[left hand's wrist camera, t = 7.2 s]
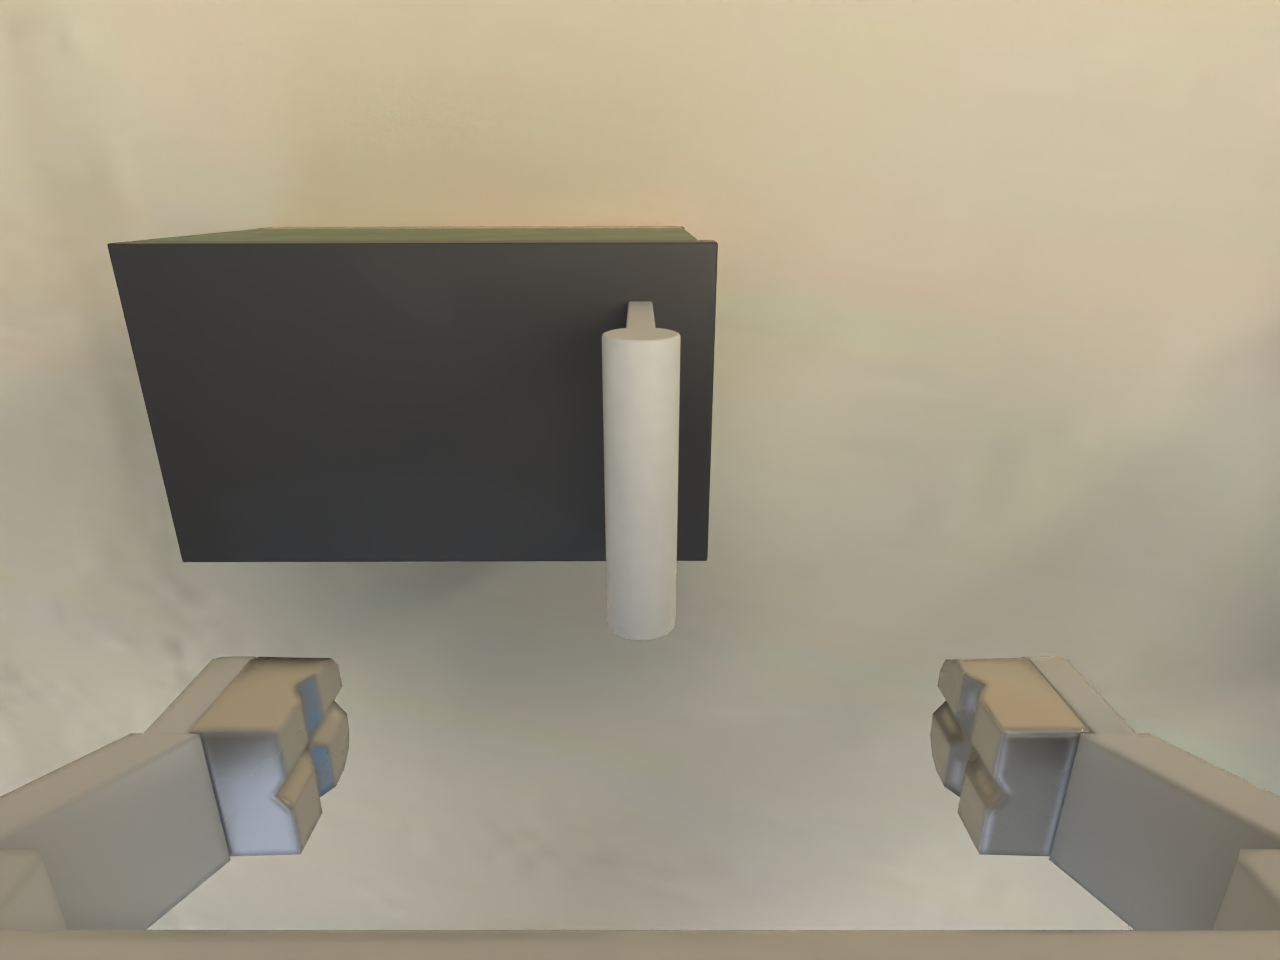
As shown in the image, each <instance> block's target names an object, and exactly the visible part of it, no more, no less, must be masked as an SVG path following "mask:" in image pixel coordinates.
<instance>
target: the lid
mask: <svg viewBox="0 0 1280 960" xmlns="http://www.w3.org/2000/svg"><path fill="white" fill-rule="evenodd" d="M108 249H109V254H110V258H111V262H112V266H113V270H114V275H115V279H116V283H117V287H118V291H119V296H120V300H121V304H122V308H123V312H124V317H125V321H126V325H127V329H128V333H129V338H130V342H131V346H132V350H133V354H134V359H135V363H136V367H137V371H138V375H139V380H140V384H141V388H142V392H143V396H144V401H145V405H146V409H147V413H148V418H149V422H150V426H151V430H152V434H153V439H154V443H155V447H156V451H157V455H158V460H159V464H160V468H161V472H162V476H163V481H164V485H165V489H166V493H167V497H168V502H169V506H170V510H171V514H172V518H173V523H174V527H175V531H176V535H177V539H178V544H179V548H180V552H181V556H182V560H183V562H397V561H606V583H607V624H608V626H609V628H610V630H611V631H612V632H613V633H614V634H616V635H618V636H620V637H622V638H625V639H629V640H636V641H647V640H654V639H658V638H661V637H663V636H665V635H667V634H668V633H670V632H671V631H672V630H673V628H674V626H675V623H676V572H677V561H706V560H707V553H708V523H709V493H710V462H711V432H712V401H713V371H714V340H715V310H716V279H717V249H718V244H717V242H715V241H713V240H680V241H162V242H118V243H109V244H108Z"/></svg>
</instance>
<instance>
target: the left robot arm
mask: <svg viewBox="0 0 1280 960" xmlns="http://www.w3.org/2000/svg"><path fill="white" fill-rule="evenodd" d="M341 687H342V682H341V677H340V672H339V667H338V664H337V663H336V662H335V661H334V660H333V659H331V658H290V657H258V658H256V657H220V658H216V659H213V660H211V661H210V663H209V664H208V665H207V666H206V667H205V668H204V669H203V670H202V671H201V672H200V673H199V674H198V675H197V677H196V678H195V679H194V680H193V681H192V682H191V683H190V684H189V685H188V686H187V687H186V688H185V689H184V691H183V692H182V693H181V694H180V695H179V696H178V697H177V698H176V699H175V700H174V701H173V702H172V703H171V705H170V706H169V707H168V708H167V709H166V710H165V711H164V712H163V713H162V714H161V715H160V716H159V717H158V719H157V720H156V721H155V722H154V723H153V724H152V725H151V726H150V727H149V728H148V729H147V730H146V731H145V733H144V734H129V735H127V736H125V737H123V738H121V739H119V740H117V741H115V742H113V743H111V744H109V745H107V746H104V747H102V748H100V749H98V750H96V751H94V752H92V753H90V754H88V755H86V756H84V757H82V758H80V759H78V760H76V761H73V762H71V763H69V764H67V765H65V766H63V767H61V768H59V769H57V770H55V771H53V772H51V773H49V774H47V775H45V776H43V777H40V778H38V779H36V780H34V781H32V782H30V783H28V784H26V785H24V786H22V787H20V788H18V789H16V790H14V791H12V792H9V793H7V794H5V795H3V796H1V797H0V960H1280V797H1278V796H1276V795H1274V794H1272V793H1270V792H1268V791H1266V790H1264V789H1262V788H1260V787H1258V786H1256V785H1254V784H1252V783H1250V782H1248V781H1245V780H1243V779H1241V778H1239V777H1237V776H1235V775H1233V774H1231V773H1229V772H1227V771H1225V770H1223V769H1221V768H1219V767H1217V766H1215V765H1213V764H1210V763H1208V762H1206V761H1204V760H1202V759H1200V758H1198V757H1196V756H1194V755H1192V754H1190V753H1188V752H1186V751H1184V750H1182V749H1180V748H1178V747H1175V746H1173V745H1171V744H1169V743H1167V742H1165V741H1163V740H1161V739H1159V738H1157V737H1155V736H1153V735H1151V734H1136V733H1135V731H1134V730H1133V729H1132V728H1131V727H1130V726H1129V725H1128V724H1127V723H1126V722H1125V721H1124V720H1123V719H1122V717H1121V716H1120V715H1119V714H1118V713H1117V712H1116V711H1115V710H1114V709H1113V708H1112V707H1111V706H1110V705H1109V703H1108V702H1107V701H1106V700H1105V699H1104V698H1103V697H1102V696H1101V695H1100V694H1099V693H1098V692H1097V690H1096V689H1095V688H1094V687H1093V686H1092V685H1091V684H1090V683H1089V682H1088V681H1087V680H1086V679H1085V678H1084V676H1083V675H1082V674H1081V673H1080V672H1079V671H1078V670H1077V669H1076V668H1075V667H1074V666H1073V665H1072V663H1071V662H1070V661H1069V660H1066V659H1064V658H1062V657H1060V656H1048V657H1021V658H997V659H946V660H945V662H944V664H943V666H942V668H941V670H940V676H939V681H938V687H939V689H940V691H941V692H942V694H943V696H944V697H945V699H946V701H945V702H944V703H943V704H942V705H941V706H940V707H939V708H938V709H937V710H936V711H935V712H934V713H933V718H932V726H931V734H930V736H931V747H932V756H933V760H934V763H935V767H936V770H937V773H938V775H939V777H940V779H941V781H942V783H943V785H944V786H945V787H946V788H947V789H949V790H950V791H952V792H953V793H955V794H956V795H958V796H959V797H960V802H959V808H958V814H959V816H960V818H961V820H962V822H963V824H964V826H965V828H966V829H967V831H968V833H969V835H970V837H971V839H972V841H973V843H974V845H975V847H976V849H977V850H978V852H979V854H987V855H1023V856H1050V859H1049V860H1051V861H1052V862H1053V863H1054V864H1055V865H1057V866H1058V867H1059V868H1060V869H1061V870H1063V871H1064V872H1065V873H1066V874H1067V875H1069V876H1070V877H1071V878H1072V879H1074V880H1075V881H1076V882H1077V883H1078V884H1080V885H1081V886H1082V887H1083V888H1084V889H1086V890H1087V891H1088V892H1089V893H1090V894H1092V895H1093V896H1094V897H1095V898H1097V899H1098V900H1099V901H1100V902H1101V903H1103V904H1104V905H1105V906H1106V907H1107V908H1109V909H1110V910H1111V911H1112V912H1113V913H1115V914H1116V915H1117V916H1118V917H1120V918H1121V919H1122V920H1123V921H1124V922H1126V923H1127V924H1128V925H1129V926H1130V927H1132V928H1133V929H1134V930H146V929H147V928H149V927H150V926H151V925H152V924H153V923H155V922H156V921H157V920H158V919H159V918H161V917H162V916H163V915H164V914H166V913H167V912H168V911H169V910H170V909H172V908H173V907H174V906H175V905H176V904H178V903H179V902H180V901H181V900H183V899H184V898H185V897H186V896H187V895H189V894H190V893H191V892H192V891H193V890H195V889H196V888H197V887H198V886H199V885H201V884H202V883H203V882H204V881H206V880H207V879H208V878H209V877H210V876H212V875H213V874H214V873H215V872H216V871H218V870H219V869H220V868H221V867H223V866H224V865H225V864H226V863H227V862H229V861H230V856H256V855H291V854H301V853H302V851H303V849H304V847H305V845H306V843H307V841H308V839H309V837H310V835H311V833H312V831H313V829H314V828H315V826H316V824H317V822H318V820H319V818H320V816H321V814H322V808H321V802H320V797H321V796H322V795H324V794H325V793H327V792H328V791H330V790H331V789H333V788H334V787H335V786H336V785H337V783H338V781H339V779H340V777H341V774H342V772H343V770H344V767H345V763H346V758H347V754H348V749H349V724H348V718H347V713H346V712H345V711H344V710H343V709H342V708H341V707H340V706H339V705H338V704H337V703H336V702H335V701H334V699H335V697H336V696H337V694H338V692H339V691H340V689H341Z"/></svg>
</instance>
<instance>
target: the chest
mask: <svg viewBox="0 0 1280 960" xmlns="http://www.w3.org/2000/svg"><path fill="white" fill-rule="evenodd" d="M680 240H697V239H696V238H695V237H693V236H692V235H691V234H690V233H688V232H687V231H686V230H685V229H684V227H269V228H259V229H253V230H243V231H233V232H222V233H212V234H202V235H191V236H181V237H171V238H160V239H150V240H140V241H132V242H162V241H680Z"/></svg>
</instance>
